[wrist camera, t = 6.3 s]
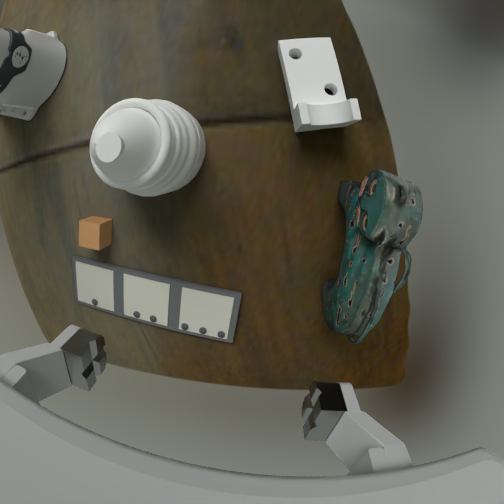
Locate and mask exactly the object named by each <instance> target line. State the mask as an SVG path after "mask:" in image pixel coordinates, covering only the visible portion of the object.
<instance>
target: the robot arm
mask: <svg viewBox="0 0 504 504" xmlns="http://www.w3.org/2000/svg"><path fill="white" fill-rule="evenodd" d="M65 63H66V49H65V46H64V45H63V44H62V43H61V42H60V41H59V40H58V36H57V33H56V32H54V31H50V32H49V33H47V34H44V33H41V32H37V31H34V30H31V29H26V30H25V31H23V32H18V31H17V30H14V29H8V28H7V29H0V115H5V116H10V117H14V118H19V119H23V120H28V121H30V120H31V119H32V118H33V117H34V115H35V113H36V111H37V110H38V108H39V107H40V106H41V105H42V104H43V103H44V102H45V101H46V100H47V99H48V97H49V96H50V95H51V94H52V92H53V91H54V89H55V88H56V86H57V84H58V83H59V81H60V78H61V76H62V74H63V71H64V67H65ZM104 345H105V341H104V337H103V336H101V335H98V334H96V333H93V332H91V331H88V330H86V329H83V328H80V327H78V326H75V325H70V326H68V327H67V328H66V329H65V330H64V331H63V332H62V333H61V334H60V335H59V336H58V337H57V338H56V339H55V340H54V341H53V342H51V343H50V344H49V343H44V344H41V345H37V346H33V347H29V348H25V349H21V350H17V351H13V352H9V353H5V354H2V355H1V356H0V504H504V460H503V459H502V458H500V457H499V456H497V455H496V454H494V453H492V452H491V451H489V450H487V449H485V448H476V449H472V450H469V451H466V452H463V453H461V454H457V455H454V456H451V457H447V458H444V459H440V460H437V461H433V462H429V463H425V464H420V465H416V466H413V465H412V462H411V460H410V457H409V454H408V452H407V449H406V447H405V444H404V443H403V442H402V441H400V440H399V439H398V438H396V437H395V436H394V435H392V434H391V433H390V432H389V431H387V430H386V429H385V428H384V427H382V426H381V425H380V424H379V423H377V422H376V421H375V420H374V419H372V418H371V417H370V416H369V415H368V414H366V413H365V412H361V410H360V407H359V404H358V402H357V399H356V396H355V393H354V390H353V387H352V385H351V384H350V383H334V382H320V381H313V382H312V383H311V385H310V387H309V391H310V394H308V395H307V396H306V397H305V399H304V401H303V405H302V419H303V420H304V421H305V424H304V426H303V429H304V438H305V440H318V441H319V440H320V441H326V443H327V444H328V445H329V447H330V448H331V449H332V450H333V452H334V453H335V454H336V455H337V456H338V458H339V459H340V460H341V461H342V462H343V464H344V465H345V466H346V467H347V468H348V470H349V471H350V472H349V473H348V474H347V475H345V476H327V477H326V476H323V477H295V476H294V477H293V476H272V475H260V474H250V473H242V472H234V471H227V470H221V469H215V468H209V467H204V466H199V465H194V464H189V463H185V462H181V461H177V460H173V459H169V458H166V457H162V456H159V455H155V454H152V453H149V452H145V451H142V450H139V449H136V448H133V447H130V446H128V445H125V444H122V443H119V442H117V441H114V440H112V439H109V438H106V437H104V436H102V435H99V434H97V433H95V432H92V431H90V430H88V429H86V428H83V427H81V426H79V425H77V424H75V423H73V422H71V421H69V420H67V419H65V418H63V417H61V416H59V415H57V414H55V413H53V412H52V411H50V410H48V409H46V408H44V407H43V406H41V405H40V404H39V401H41V400H43V399H45V398H47V397H49V396H51V395H53V394H55V393H57V392H59V391H61V390H63V389H65V388H67V387H69V386H71V385H75V386H77V387H79V388H82V389H84V390H87V391H90V389H91V388H92V387H93V385H94V384H95V382H96V377H95V376H98V375H101V374H102V372H103V371H104V369H105V366H106V361H107V356H106V352H105V351H104V349H103V346H104Z"/></svg>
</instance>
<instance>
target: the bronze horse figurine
mask: <svg viewBox="0 0 504 504" xmlns="http://www.w3.org/2000/svg"><path fill="white" fill-rule="evenodd" d="M338 200H339V201H340V203H341V205H342V206H343V209H344V215H345V218H346V240H345V245H344V250H343V254H342V259H341V264H340V268H339V274H338V277H337V280H336V279H327V280H325V281H324V283H323V285H322V289H321V296H322V301H323V310H324V317H325V320H326V322H327V324H328V326H329V327H330V328H331V330H332V331H335V332H337V333H339V334H346V335H348V338H349V341H350V342H352V343H353V344H357V343H360V342H361V341H362V340H363V338H364V337H365V335H366V334H367V333H368V332H369V331H370V330H371V329H372V328H373V327H374V326H375V325H376V324H377V322H378V321H379V320H380V318H381V316H382V314H383V312H384V310H385V308H386V306H387V304H388V301H389V299H390V298H391V297H392V294H393V293H395V292H398V291H399V290H400V289H401V288H402V287H403V285H404V284H405V282H406V280H407V278H408V276H409V273H410V267H411V257H410V254H409V252H408V251H406V249H405V247H406V246H407V245H408V244H409V243H410V241H411V240H412V239H413V238H414V236H415V235H416V233H417V231H418V229H419V226H420V223H421V219H422V210H423V205H422V196H421V192H420V190H419V188H418V187H417V186H416V185H415V184H413V183H411V182H409V181H407V180H405V179H403V178H400V177H398V176H396V175H393V174H391V173H389V172H386V171H383V170H374V171H372V172H371V173H368V174H367V175H366V176H365V178H364V179H363V181H362V183H360V182H356V181H341V182H340V188H339V194H338ZM402 250H403V251H404V253H405V271H404V273H403V275H402V277H401V279H400V281H399V283H398V284H397V285H396V287H395V289H394V286H395V281H396V277H397V273H398V268H399V262H400V255H401V253H402ZM354 335H360V336H359V337H358V339H357V340H353V339H352V337H353V336H354Z"/></svg>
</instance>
